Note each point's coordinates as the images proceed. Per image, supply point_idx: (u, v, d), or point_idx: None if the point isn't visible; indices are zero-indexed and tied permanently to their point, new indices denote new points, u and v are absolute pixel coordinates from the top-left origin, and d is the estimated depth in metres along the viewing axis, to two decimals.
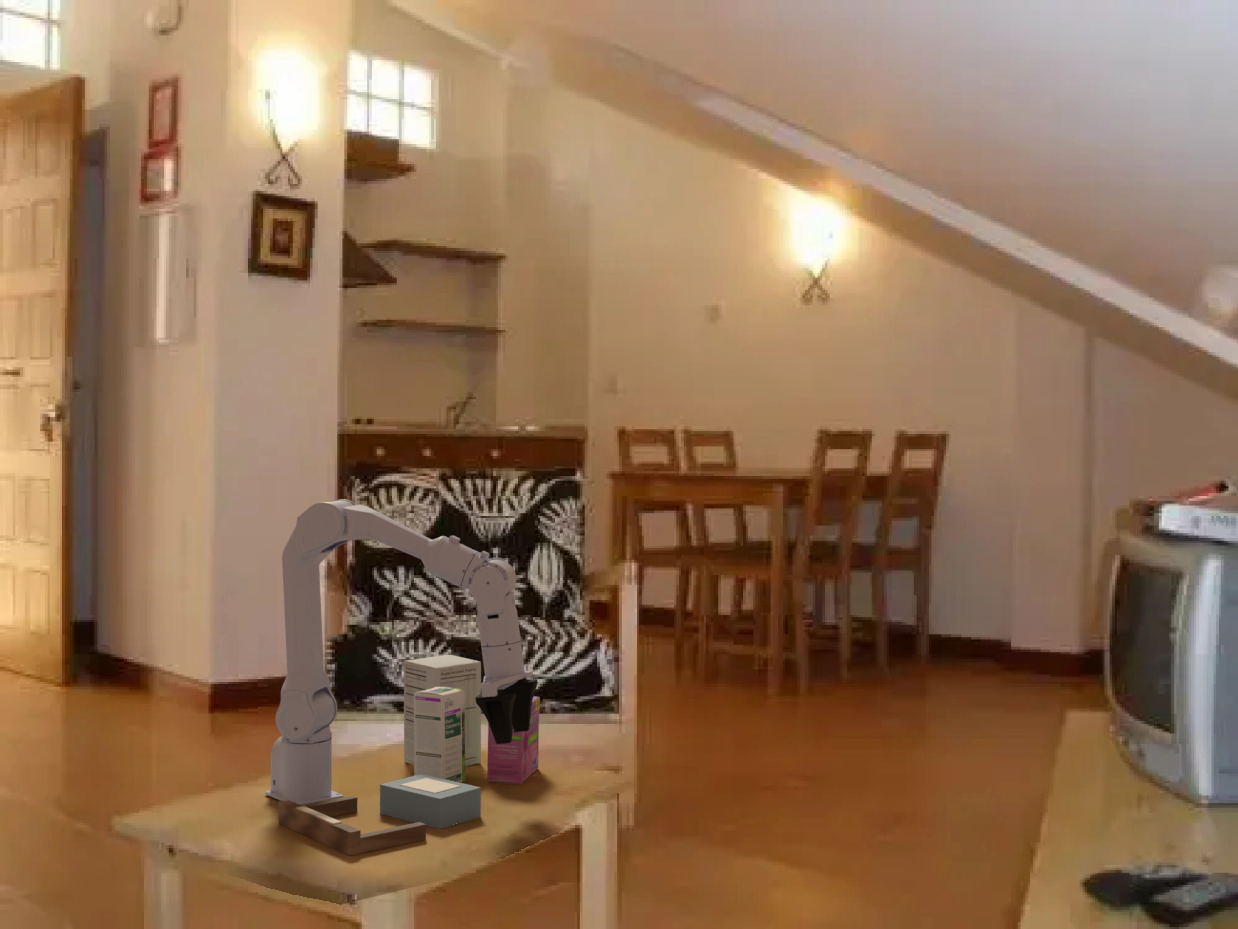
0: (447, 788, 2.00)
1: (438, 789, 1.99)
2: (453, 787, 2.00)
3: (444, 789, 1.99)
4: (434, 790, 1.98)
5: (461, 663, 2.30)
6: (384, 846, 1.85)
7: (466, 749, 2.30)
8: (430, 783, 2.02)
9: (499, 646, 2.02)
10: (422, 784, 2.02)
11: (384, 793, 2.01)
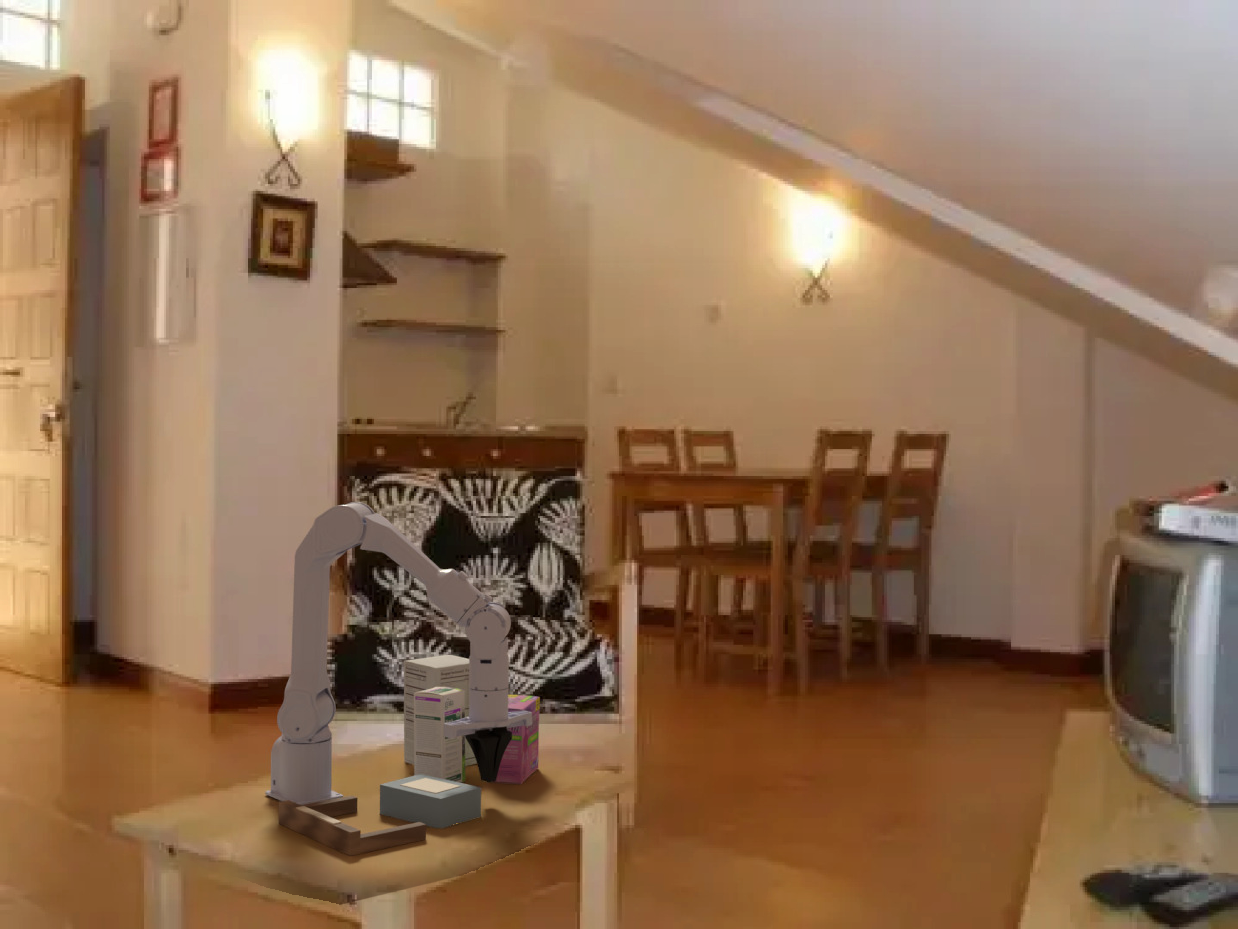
0: (447, 788, 2.00)
1: (438, 789, 1.99)
2: (453, 787, 2.00)
3: (444, 789, 1.99)
4: (434, 790, 1.98)
5: (461, 663, 2.30)
6: (384, 846, 1.85)
7: (466, 749, 2.30)
8: (430, 783, 2.02)
9: (476, 691, 2.05)
10: (422, 784, 2.02)
11: (384, 793, 2.01)
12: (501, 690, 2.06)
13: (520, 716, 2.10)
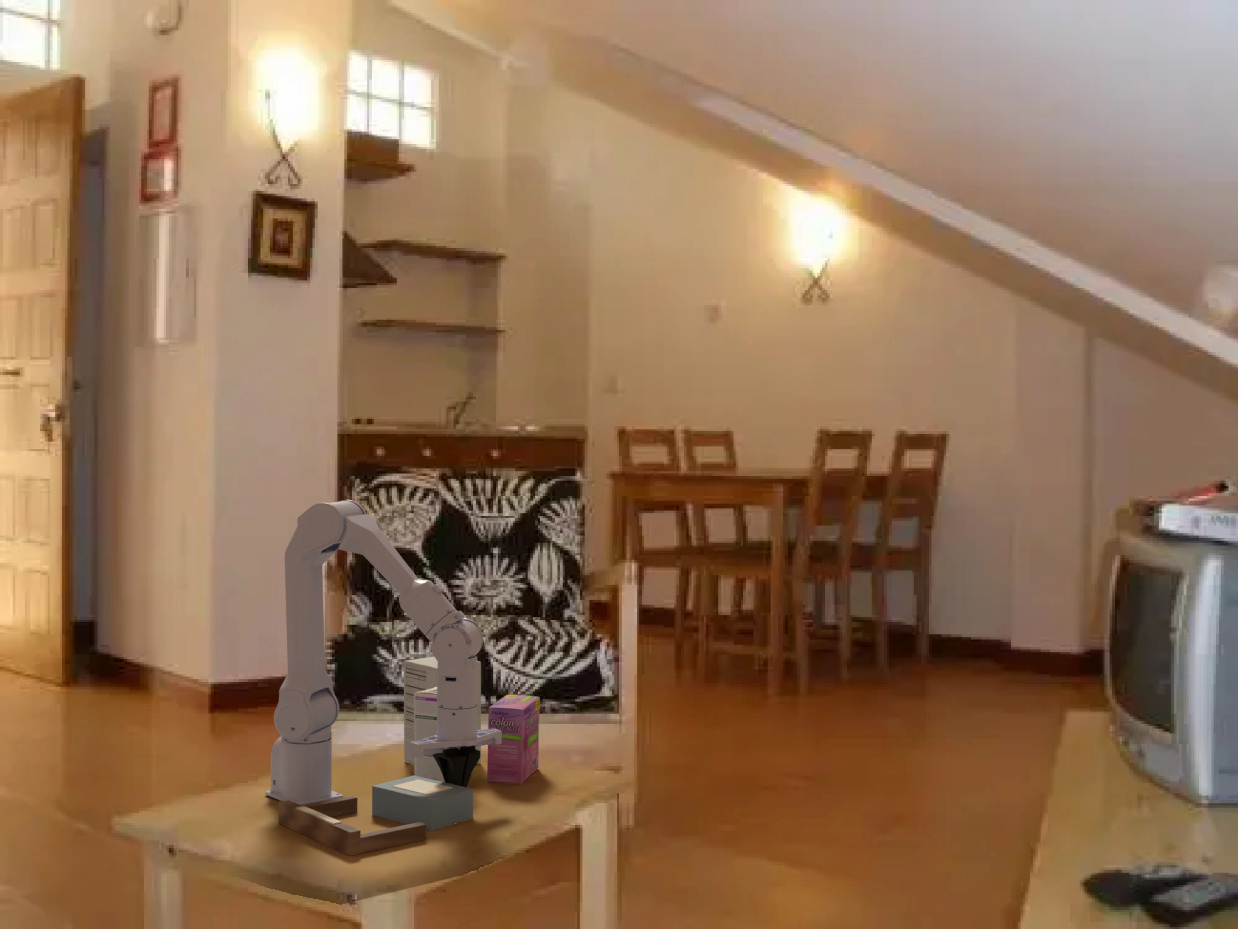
0: (439, 789, 1.99)
1: (430, 790, 1.98)
2: (445, 788, 1.99)
3: (436, 790, 1.98)
4: (426, 791, 1.98)
5: None
6: (384, 846, 1.85)
7: None
8: (422, 784, 2.01)
9: (444, 709, 2.02)
10: (414, 785, 2.01)
11: (376, 794, 2.01)
12: (469, 708, 2.02)
13: (489, 734, 2.06)
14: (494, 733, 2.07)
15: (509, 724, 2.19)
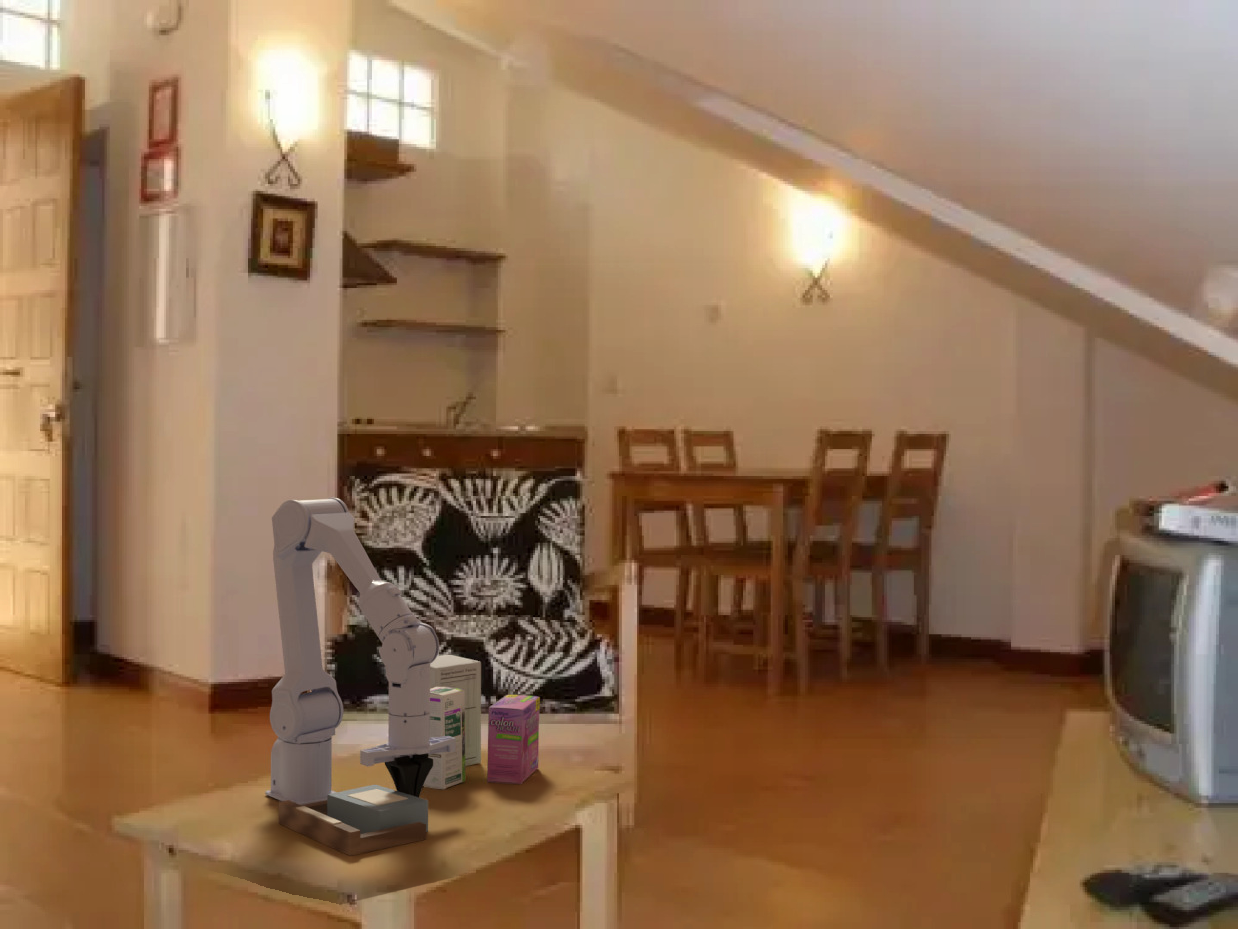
0: (393, 800, 1.93)
1: (383, 801, 1.92)
2: (399, 799, 1.93)
3: (389, 801, 1.92)
4: (378, 802, 1.92)
5: (461, 663, 2.30)
6: (384, 846, 1.85)
7: (466, 749, 2.30)
8: (378, 794, 1.96)
9: (395, 716, 1.96)
10: (369, 795, 1.95)
11: (331, 803, 1.95)
12: (421, 715, 1.97)
13: (443, 742, 2.01)
14: (448, 741, 2.02)
15: (509, 724, 2.19)
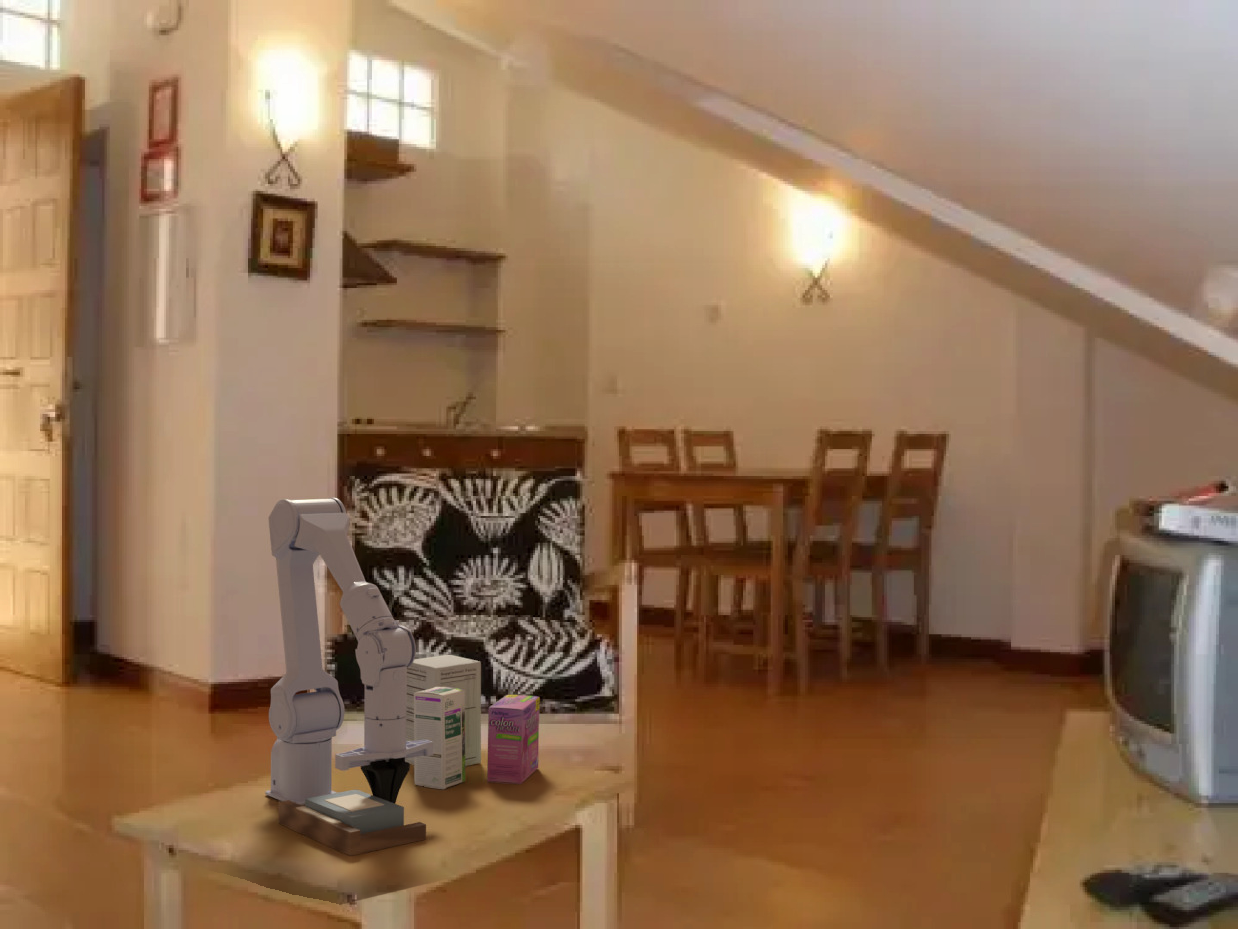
0: (368, 806, 1.90)
1: (358, 807, 1.90)
2: (375, 805, 1.90)
3: (364, 807, 1.89)
4: (353, 808, 1.89)
5: (461, 663, 2.30)
6: (384, 846, 1.85)
7: (466, 749, 2.30)
8: (355, 800, 1.93)
9: (371, 719, 1.94)
10: (346, 800, 1.93)
11: None
12: (397, 719, 1.94)
13: (419, 746, 1.98)
14: (425, 744, 1.99)
15: (509, 724, 2.19)
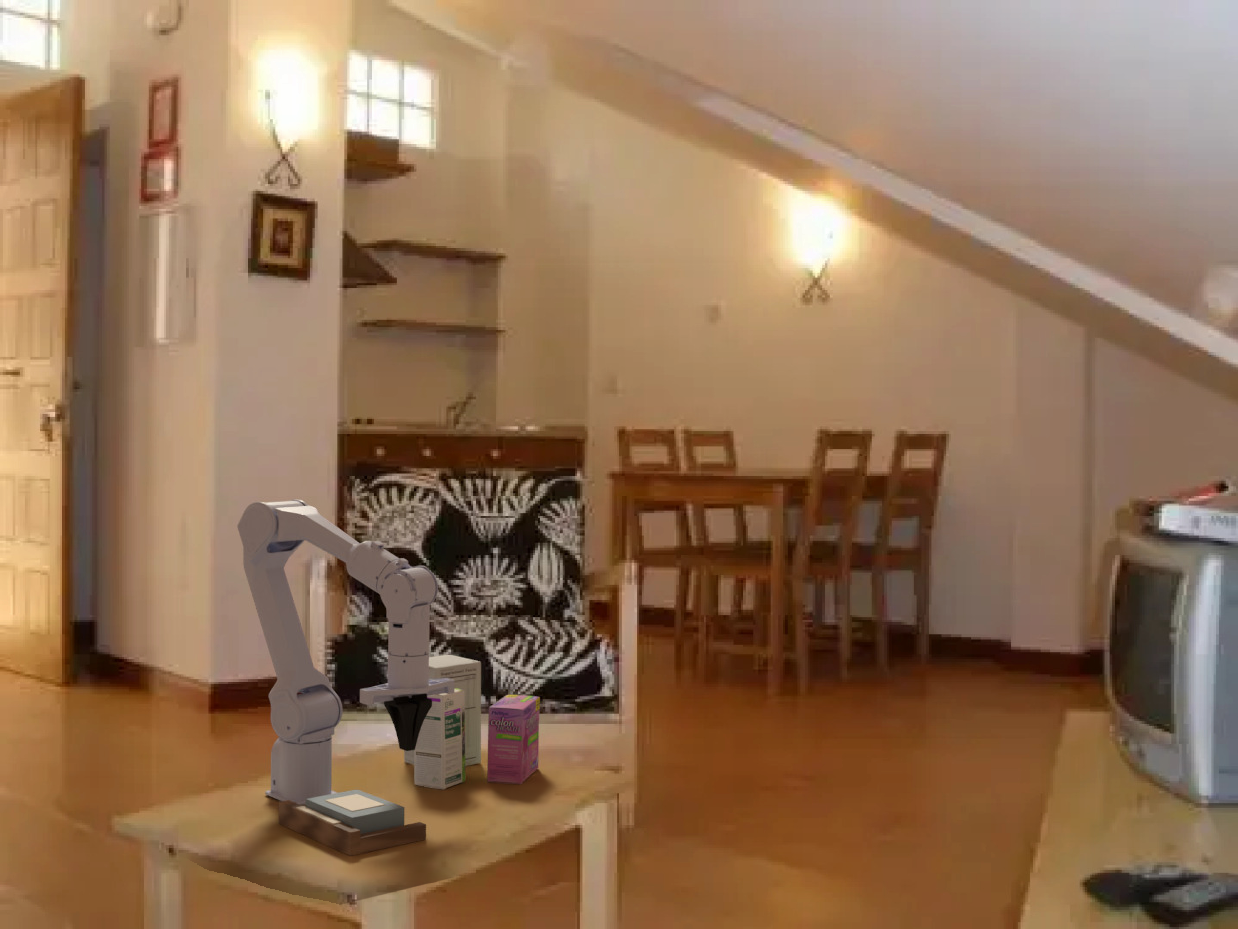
0: (368, 806, 1.90)
1: (358, 807, 1.89)
2: (376, 805, 1.90)
3: (365, 807, 1.89)
4: (353, 808, 1.89)
5: (461, 663, 2.30)
6: (384, 846, 1.85)
7: (466, 749, 2.30)
8: (356, 800, 1.93)
9: (395, 656, 1.99)
10: (347, 801, 1.92)
11: None
12: (421, 656, 1.99)
13: (441, 683, 2.03)
14: (447, 682, 2.04)
15: (509, 724, 2.19)
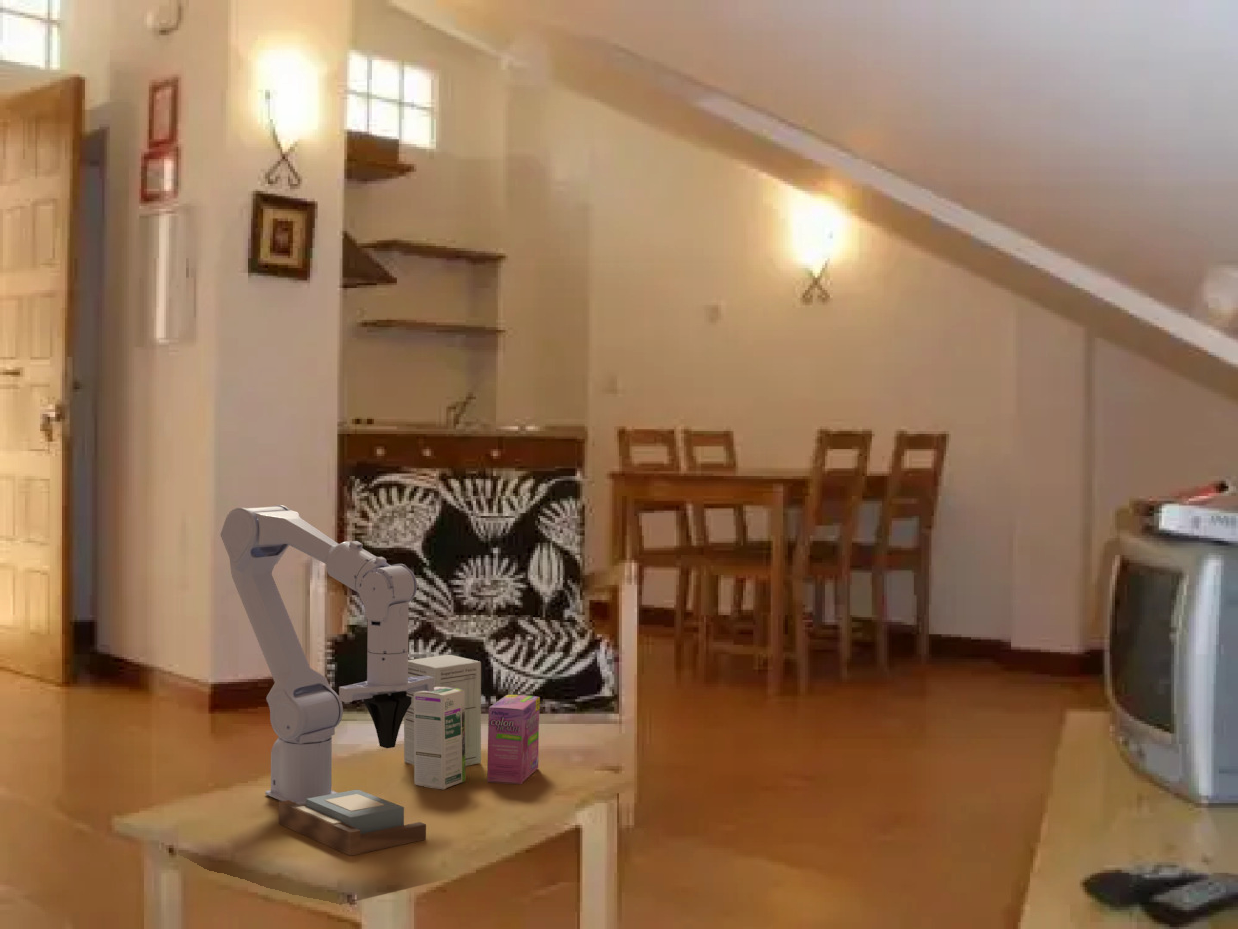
0: (368, 806, 1.90)
1: (358, 807, 1.89)
2: (375, 805, 1.90)
3: (364, 807, 1.89)
4: (353, 808, 1.89)
5: (461, 663, 2.30)
6: (384, 846, 1.85)
7: (466, 749, 2.30)
8: (356, 800, 1.93)
9: (374, 654, 2.00)
10: (347, 800, 1.93)
11: None
12: (399, 653, 2.00)
13: (421, 681, 2.04)
14: (426, 680, 2.05)
15: (509, 724, 2.19)
